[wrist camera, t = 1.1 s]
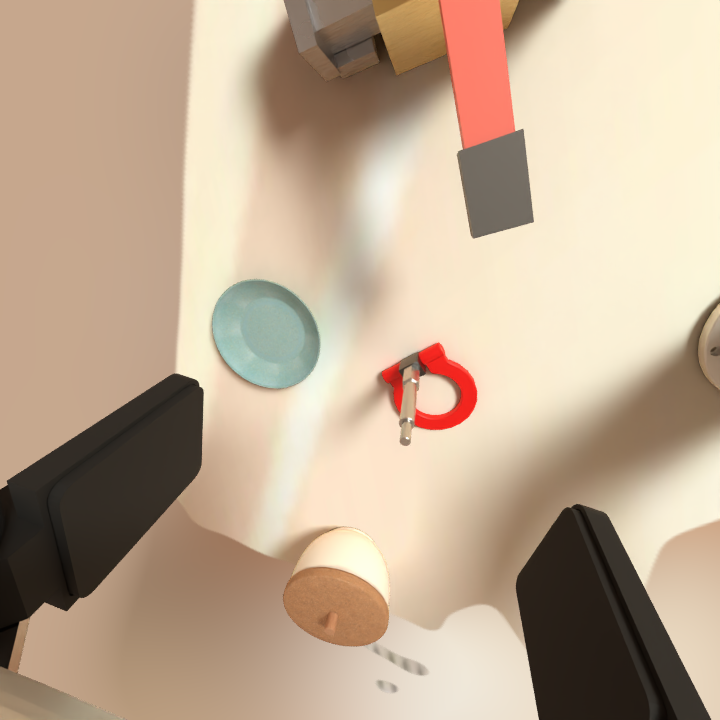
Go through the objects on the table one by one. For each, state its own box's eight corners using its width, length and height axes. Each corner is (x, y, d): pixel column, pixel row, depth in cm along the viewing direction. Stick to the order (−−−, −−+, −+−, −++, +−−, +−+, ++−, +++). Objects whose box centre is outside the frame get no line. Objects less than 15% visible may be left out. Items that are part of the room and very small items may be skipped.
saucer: (221, 363, 42) (210, 372, 40) (224, 262, 37) (211, 266, 35) (317, 390, 41) (311, 401, 39) (335, 290, 36) (328, 296, 33)
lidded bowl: (368, 588, 53) (352, 678, 43) (293, 547, 52) (260, 628, 43) (414, 543, 47) (407, 634, 37) (331, 496, 47) (302, 576, 37)
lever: (375, -219, 14) (365, -281, 12) (482, -293, 13) (489, -372, 11) (459, 237, 20) (461, 241, 18) (537, 216, 19) (547, 218, 17)
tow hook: (490, 404, 37) (446, 334, 35) (515, 504, 26) (453, 410, 24) (420, 434, 41) (375, 371, 38) (415, 533, 29) (351, 454, 27)
